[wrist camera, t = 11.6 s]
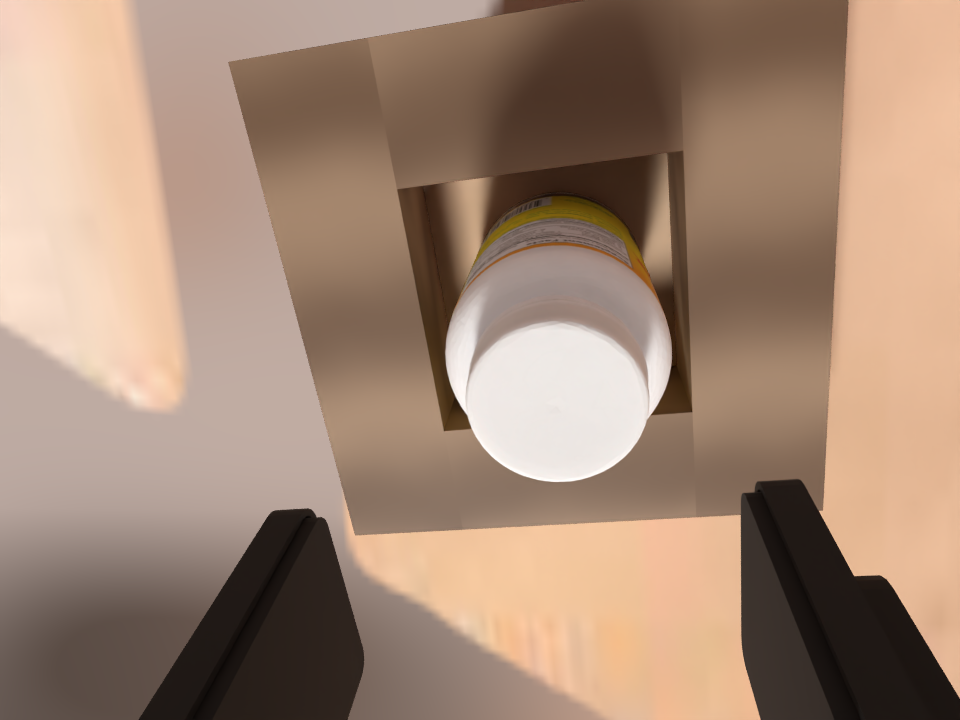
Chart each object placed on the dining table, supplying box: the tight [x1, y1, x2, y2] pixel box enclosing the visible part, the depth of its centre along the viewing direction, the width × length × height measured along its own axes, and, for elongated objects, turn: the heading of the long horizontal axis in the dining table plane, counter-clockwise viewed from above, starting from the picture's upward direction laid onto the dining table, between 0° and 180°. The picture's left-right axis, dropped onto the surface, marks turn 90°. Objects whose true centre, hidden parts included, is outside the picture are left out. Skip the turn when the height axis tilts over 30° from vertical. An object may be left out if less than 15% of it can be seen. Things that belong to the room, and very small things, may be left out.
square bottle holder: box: [229, 0, 848, 535], centre depth 23 cm, size 16×16×4 cm
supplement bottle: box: [445, 193, 672, 482], centre depth 20 cm, size 6×6×10 cm
